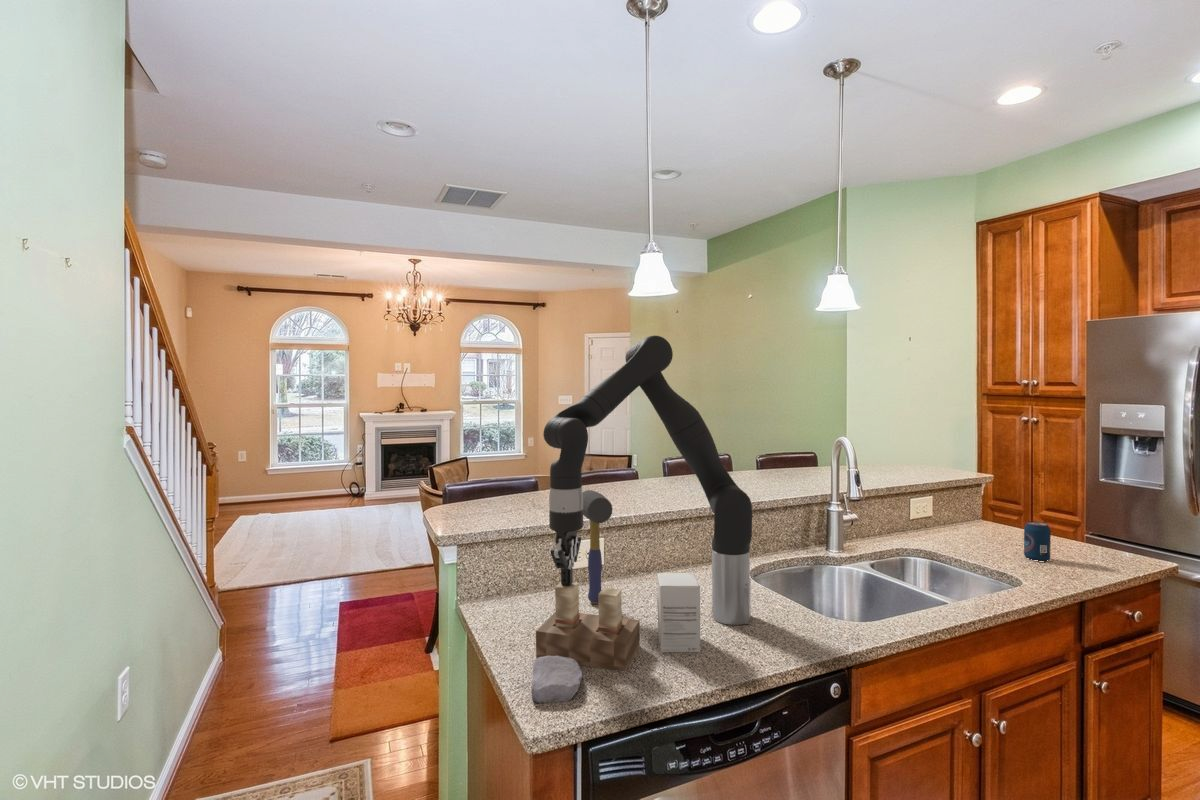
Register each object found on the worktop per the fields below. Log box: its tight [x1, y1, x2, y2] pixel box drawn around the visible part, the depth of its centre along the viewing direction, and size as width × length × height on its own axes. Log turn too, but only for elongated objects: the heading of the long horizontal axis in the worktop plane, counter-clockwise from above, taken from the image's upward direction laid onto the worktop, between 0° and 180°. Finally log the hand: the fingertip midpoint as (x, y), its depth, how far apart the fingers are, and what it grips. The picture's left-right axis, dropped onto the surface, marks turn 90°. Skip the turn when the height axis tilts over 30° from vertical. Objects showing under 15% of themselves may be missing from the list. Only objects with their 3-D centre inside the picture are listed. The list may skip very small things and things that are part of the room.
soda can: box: [1023, 520, 1052, 562], centre depth 190 cm, size 7×7×12 cm
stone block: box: [531, 656, 583, 704], centre depth 114 cm, size 12×5×10 cm
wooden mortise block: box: [535, 611, 641, 673], centre depth 128 cm, size 20×12×6 cm, turn 72°
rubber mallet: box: [582, 489, 613, 605], centre depth 156 cm, size 12×8×30 cm, turn 16°
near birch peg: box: [597, 587, 623, 635], centre depth 126 cm, size 4×4×13 cm
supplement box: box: [656, 572, 701, 653], centre depth 131 cm, size 9×9×15 cm
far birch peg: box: [554, 581, 580, 629], centre depth 129 cm, size 4×4×13 cm
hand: (566, 584), depth 129 cm, fingers closed
